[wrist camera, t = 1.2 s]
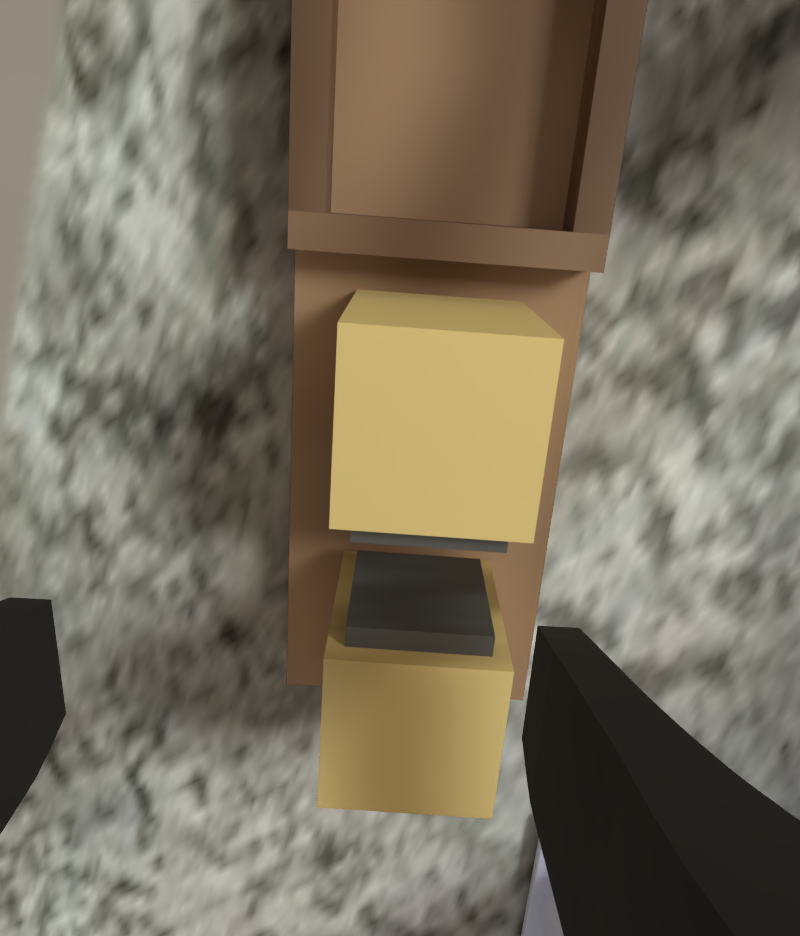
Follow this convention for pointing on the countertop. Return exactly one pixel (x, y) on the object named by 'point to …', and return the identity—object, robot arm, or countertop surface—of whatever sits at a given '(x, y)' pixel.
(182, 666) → the countertop surface
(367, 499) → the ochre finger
